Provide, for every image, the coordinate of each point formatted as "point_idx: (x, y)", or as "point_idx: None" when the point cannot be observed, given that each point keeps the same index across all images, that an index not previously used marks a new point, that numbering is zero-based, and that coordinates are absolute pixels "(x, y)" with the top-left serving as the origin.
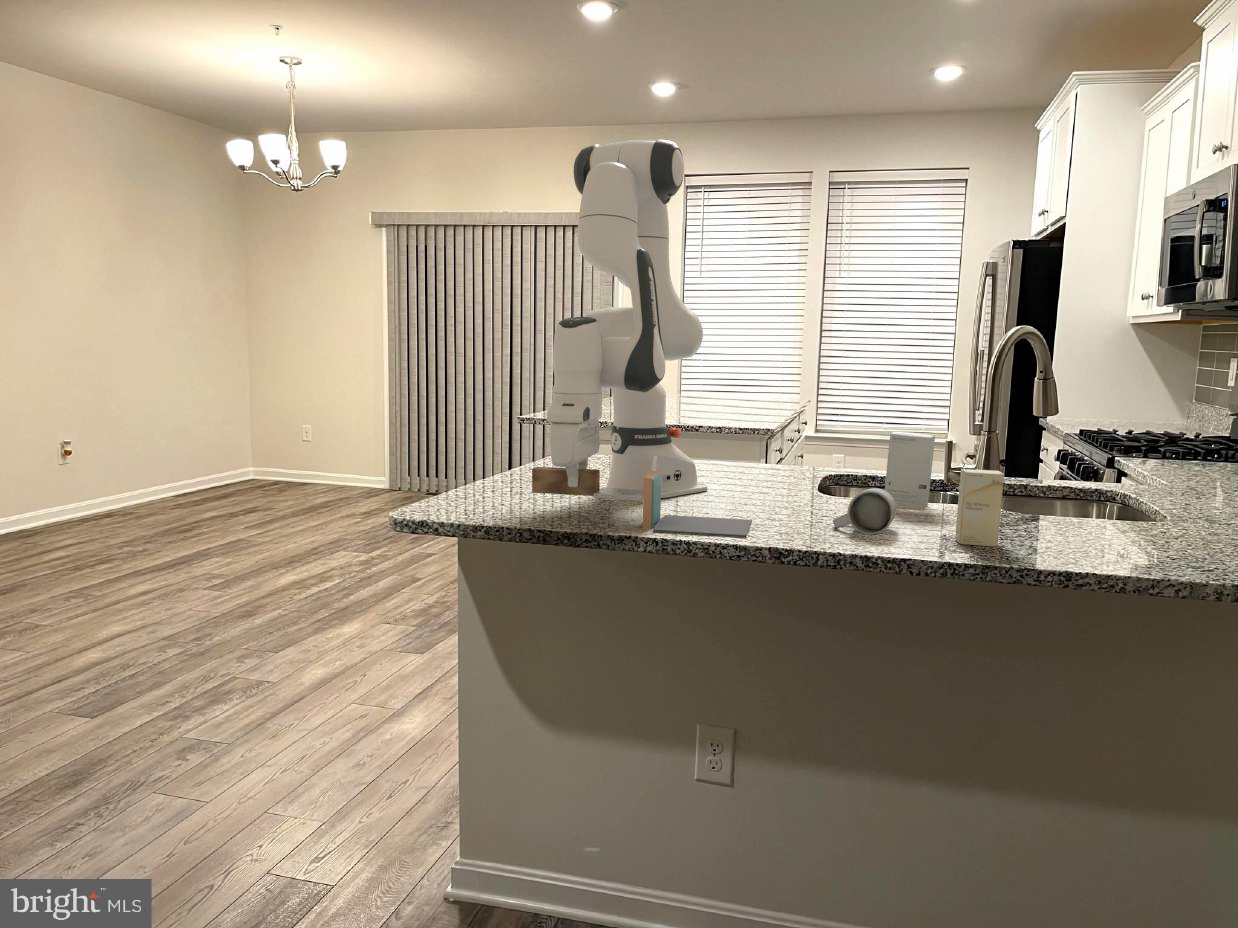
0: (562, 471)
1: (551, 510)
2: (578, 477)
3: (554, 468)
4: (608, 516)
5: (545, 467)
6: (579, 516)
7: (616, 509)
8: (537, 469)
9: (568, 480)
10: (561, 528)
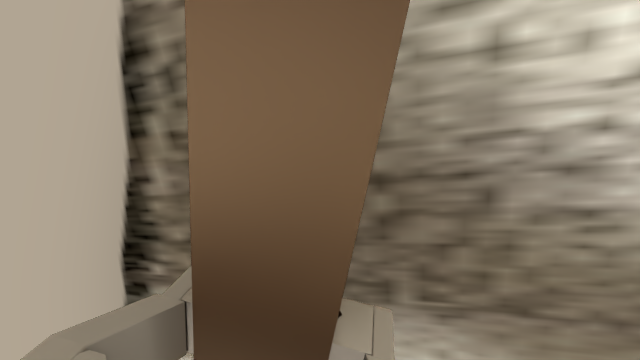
0: (199, 282)
1: (520, 86)
2: (189, 349)
3: (286, 217)
4: (387, 303)
5: (353, 99)
6: (380, 214)
7: (521, 337)
8: (188, 8)
9: (177, 280)
10: (180, 164)
